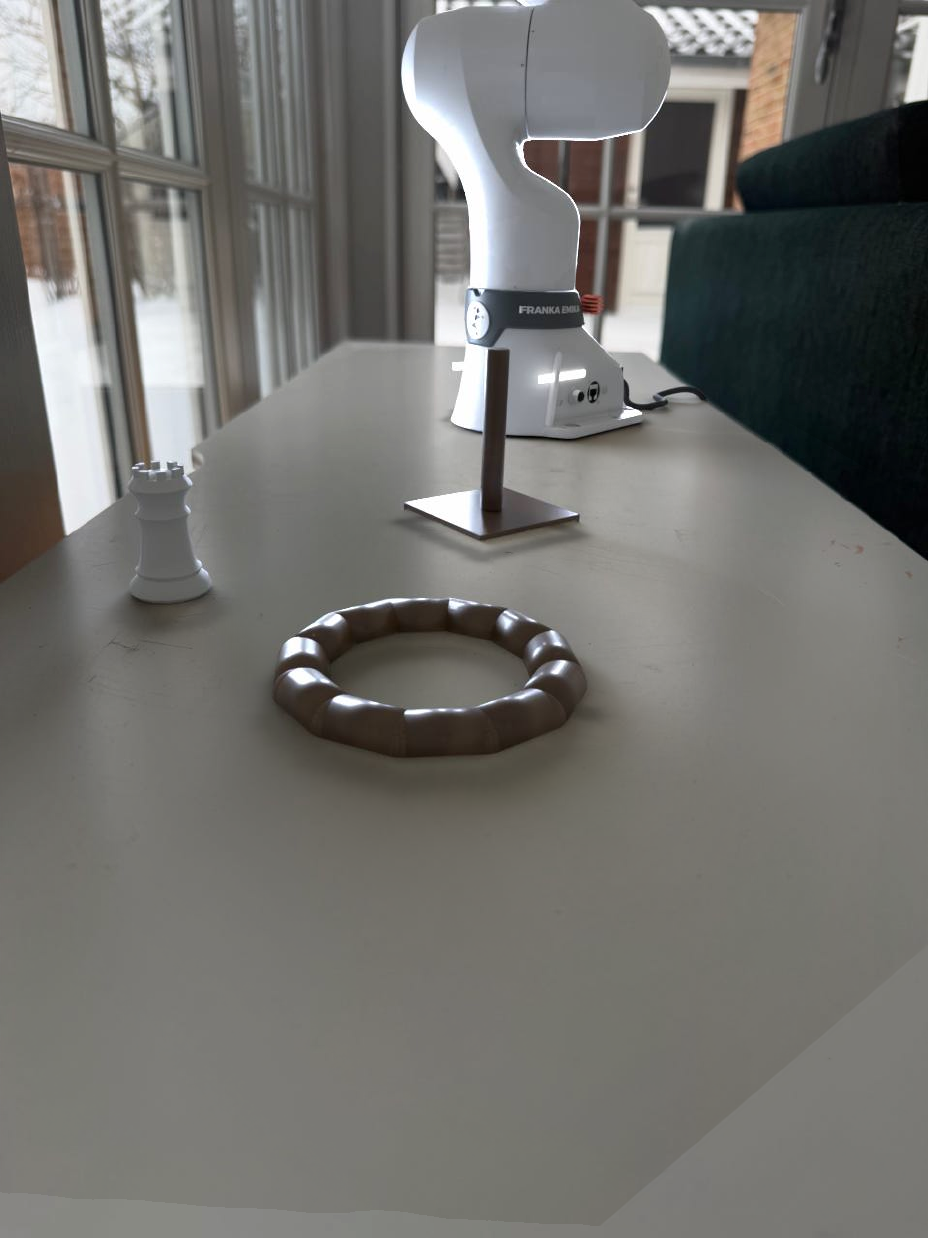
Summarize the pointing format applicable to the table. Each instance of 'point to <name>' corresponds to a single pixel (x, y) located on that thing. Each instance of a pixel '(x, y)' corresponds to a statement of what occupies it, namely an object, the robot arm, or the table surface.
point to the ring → (438, 729)
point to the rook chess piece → (165, 537)
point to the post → (492, 476)
